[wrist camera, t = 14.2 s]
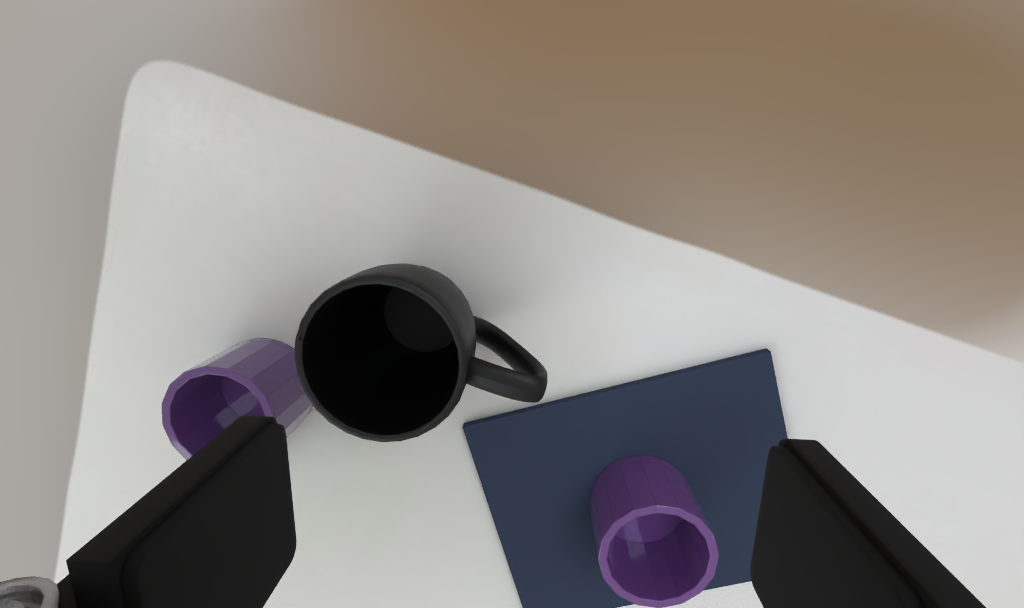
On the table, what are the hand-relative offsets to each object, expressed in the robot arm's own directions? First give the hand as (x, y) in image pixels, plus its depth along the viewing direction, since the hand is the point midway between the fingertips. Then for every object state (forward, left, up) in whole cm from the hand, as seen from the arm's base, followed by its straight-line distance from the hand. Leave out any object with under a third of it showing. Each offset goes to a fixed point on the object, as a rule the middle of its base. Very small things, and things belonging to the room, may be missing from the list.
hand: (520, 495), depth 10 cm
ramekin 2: (-3, +16, -23) cm, 28 cm away
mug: (+6, +1, -24) cm, 24 cm away
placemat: (-3, +16, -23) cm, 28 cm away
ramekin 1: (+19, +2, -23) cm, 30 cm away
